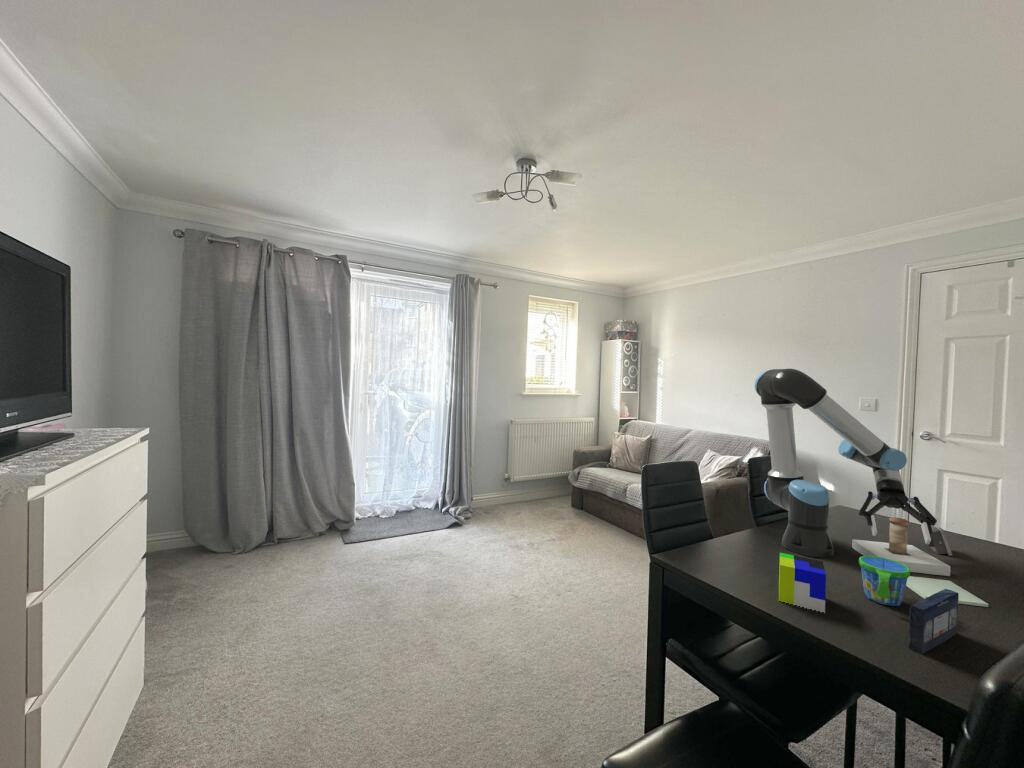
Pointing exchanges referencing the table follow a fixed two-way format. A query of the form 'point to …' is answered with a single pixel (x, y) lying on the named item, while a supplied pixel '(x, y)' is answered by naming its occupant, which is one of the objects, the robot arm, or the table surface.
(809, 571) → the puzzle toy
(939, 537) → the electrical switch
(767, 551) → the table surface
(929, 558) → the socket block
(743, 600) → the table surface
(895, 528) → the plug
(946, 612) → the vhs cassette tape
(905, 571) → the snack cup
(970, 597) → the pad
